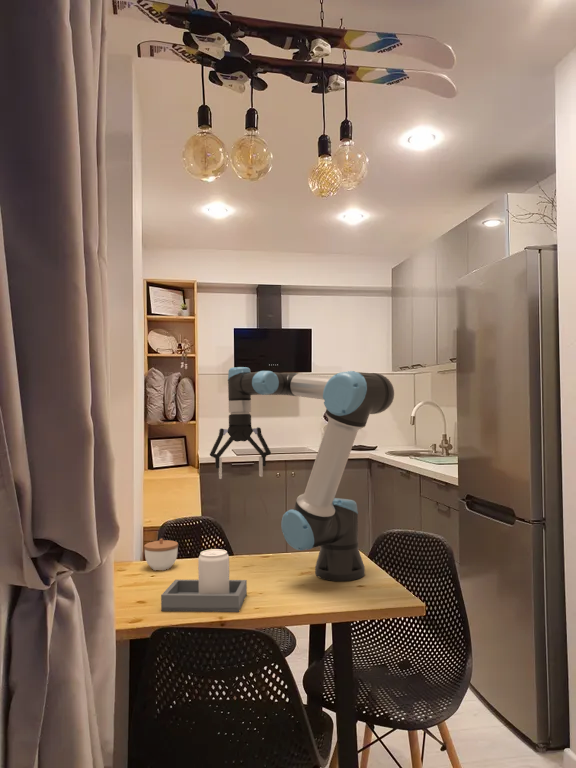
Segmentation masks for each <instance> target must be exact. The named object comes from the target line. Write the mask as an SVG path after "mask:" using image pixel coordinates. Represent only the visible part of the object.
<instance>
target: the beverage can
mask: <svg viewBox="0 0 576 768" xmlns="http://www.w3.org/2000/svg"><path fill="white" fill-rule="evenodd" d="M197 569H198V580H199V594H229V580H230V556H229V554H228V551H227V550H225V549H222V548H221V549H219V548H212V549H211V548H210V549H206V550H203V551H200V554H199V556H198V568H197Z"/></svg>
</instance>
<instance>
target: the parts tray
mask: <svg viewBox="0 0 576 768" xmlns="http://www.w3.org/2000/svg"><path fill="white" fill-rule="evenodd" d="M247 584H248V583H247V579H229V594H199V579H175V580H174V581H173V582H172V583H171V584H170V585H169V586H168V587H167V588H166V589H165V590H164V591H163V592H162V594H161V596H160V599H161V600H160V606H161V608H160V610H161V612H195V613H196V612H197V613H198V612H199V613H200V612H205V613H206V612H211V613H212V612H213V611H214V612H213V613H216V612H218V613H221V612H222V613H223V612H224V613H225V612H227V613H239V612H240V611H241V608H242V607H243V604H244V602H243V601H245V600H246V597H247V595H248V594H247V593H248V592H247V591H248V587H247ZM244 599H245V600H244ZM239 610H240V611H239Z"/></svg>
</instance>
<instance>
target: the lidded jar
mask: <svg viewBox="0 0 576 768" xmlns="http://www.w3.org/2000/svg"><path fill="white" fill-rule="evenodd" d="M143 547H144V548H143V549H144V557H145V558H144V559H145V561H146V564H147V565H148V566H149V567H150V568H151V570H152V569H153V571H156V570H162V571H167V570H170V569H171V568H172V566H173V565H174V564H175V562H176V561H177V558H178V551H179V550H178V549H179V542H177V541H176V540H175V541H174V540H168V539H167V540H166V539H165V540H164V538H159V540H154V541H150V542H147V543H146V544H144V546H143ZM169 568H170V569H169ZM166 569H167V570H166Z"/></svg>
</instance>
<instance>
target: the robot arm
mask: <svg viewBox="0 0 576 768" xmlns="http://www.w3.org/2000/svg"><path fill="white" fill-rule="evenodd" d="M227 375H228V376H227V388H228V389H227V391H228V397H227V398H228V413H230V414H229V415H228V428H219V430H218V431H219V432H218V436H217V439H216V440H215V442H214V443H213V447H212V448H211V451H210V453H209V456H210V457H211V458H214V459H215V461H214V463H215V464H214V465H215V466H214V467H215V469H218V479H219V480H222V479H223V468H222V467H223V460H222V455H223V454H224V452H225V451H226V450H227V449H228V447H229V446H230V445H231V444H232V443H233V442H237V443H239V442H247V441H248V442H249V444H251V445H252V447H253V448H254V449H255V450H256V451H257V452H258V454H259V455H260V456H258V475H259V477H260V478H263V475H264V470H263V469H264V467H266V463H267V462H266V460H267V459H266V457H267V456H270V455H271V454H272V452H271V450H270V448H269V446H268V444H267V441H266V440H265V438H264V437H263V434H262V428H261V427H259V426H257V427H256V428H255V427H254V428H253V426H252V415H251V413H252V399H251V398H252V397H251V396H291V397H300V398H308V399H309V398H310V399H316V400H324V402H323V404H324V407H325V408H326V409H325V416H326V417H327V420H328V421H327V423H326V427H325V430H324V432H323V436H322V438H321V441H320V445H319V448H318V451H317V455H316V457H315V460H314V463H313V466H312V468H311V472H310V475H309V478H308V481H307V483H306V487H305V490H304V493H301V494H299V496H297V498H296V500H295V503H294V506H293V509H292V508H291V509H288V510H287V511H285V513H283V514H282V518H281V523H280V525H281V532H282V534H283V538H284V540H285V542H286V543H287V544H288V545H289V546H290V547H291V548H292V549H294V550H296V551H305V550H307V551H309V550H311V549H313V548H318V547H320V549H319V553H318V557H317V559H316V562H315V567H314V568H315V569H314V570H315V576H316V577H318V578H320V579H322V580H326V581H330V582H331V581H333V582H347V581H356V580H358V579H359V580H360V579H362V578H363V577H364V576H365V575H366V573H365V571H366V570H365V565H364V562H363V561H364V560H363V558H362V555H361V553H360V550H359V522H358V521H359V519H358V518H359V517H358V515H359V511H358V505H357V504H358V503H357V502H356V501H355V500H354V499H350V498H349V499H348V498H341V497H340V498H339V497H336V495H337V491H338V489H339V486H340V483H341V480H342V477H343V474H344V472H345V470H346V469H345V468H346V465H347V463H348V460H349V457H350V454H351V451H352V448H353V445H354V443H355V440H356V437H357V433H358V431H359V430H362V429H363V428H365V427H366V425H367V423H368V420H369V416H370V415H375V414H376V415H377V414H380V413H384V412H385V411H386V410H388V409H389V408H390V407H391V405H392V403H393V402H394V398H395V389H394V385H393V384H392V381H390V379H389V378H388V377H387V376H385V375H383V374H380V373H378V372H377V373H376V372H364V371H363V372H360V371H354V370H347V371H340V372H338V373H336V374H334V375H332V376H331V375H330V376H329V375H317V374H307V373H306V374H303V373H296V372H273V371H271V370H260V371H255V372H251V369H250V368H249V367H246V366H245V367H244V366H237V367H230V368H229V369H228V372H227ZM253 433H254V434H255V435H256V436H257V438H258V440H259V442H260V444H261V446H262V448H263V449H264V450H263V449H262V448H261V447H260V446H259V445H258V443H257V442H255V440H254V439H253V438H252V436H251V435H252V434H253ZM226 434H228V436H230V437H229V438H228V439H227V440H226V441H225V443H224V444H223V445H222V447H220V449H219V450H218V448H219V445H220V443H221V442H222V439H223V437H224V436H226ZM217 450H218V451H217ZM216 452H217V453H216Z"/></svg>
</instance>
